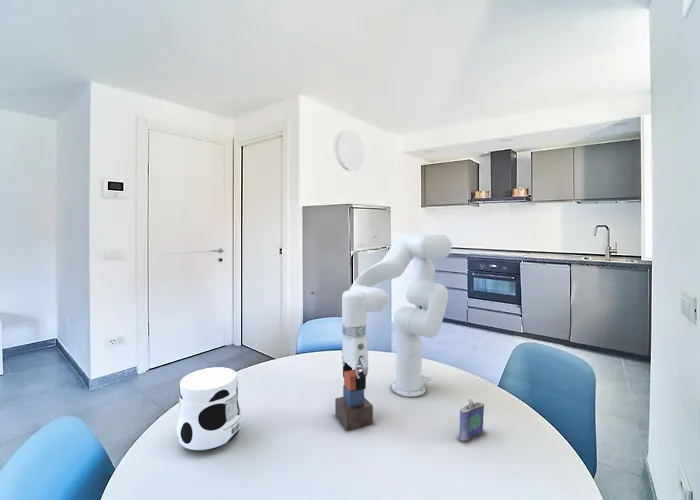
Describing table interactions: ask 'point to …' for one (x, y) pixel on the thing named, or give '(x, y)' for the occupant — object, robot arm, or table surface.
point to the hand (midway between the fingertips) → (353, 382)
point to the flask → (471, 421)
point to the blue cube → (353, 397)
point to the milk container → (208, 409)
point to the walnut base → (353, 414)
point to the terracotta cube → (350, 380)
